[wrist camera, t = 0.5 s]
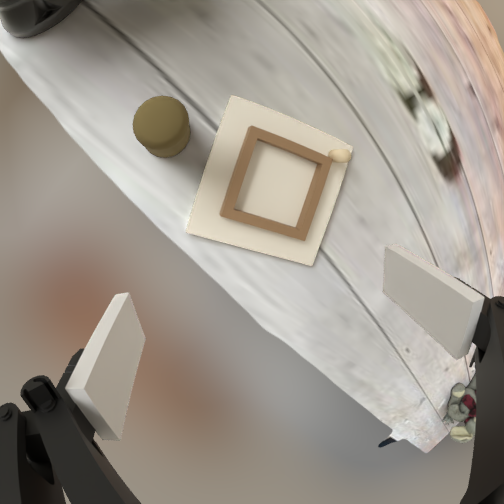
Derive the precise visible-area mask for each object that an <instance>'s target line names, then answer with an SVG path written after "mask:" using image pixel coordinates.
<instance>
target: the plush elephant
mask: <svg viewBox="0 0 504 504" xmlns="http://www.w3.org/2000/svg"><path fill="white" fill-rule="evenodd" d="M448 407H449V408H448V412H447V415H446V416H445V417H444V418H445V419H444V420H443V421H442V422H444V421H446V424H448V425H449V423H448V422H451V423H454V421H453V419H454V420H456V421H458V422H463V421H464V423H465V426H456V427H452V428H451V431H450V438H452V439H453V440H454V441H457V442H460V443H465V442H468V441H470V440H472V438H473V436H475V426H476V373H475V375H474V377H473V379H472V381H471V382H470V384H469V385H468V386H467V387H466V388H465V386H464V385H463V384H461V383H458V384H456V385H455V386H454V387H453V388H452V391H451V398H450V400H449V403H448ZM452 421H453V422H452Z"/></svg>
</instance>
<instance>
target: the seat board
mask: <svg viewBox="0 0 504 504" xmlns="http://www.w3.org/2000/svg"><path fill="white" fill-rule="evenodd" d="M352 149H353V146H351V145H349V144H347V143H345V142H343V141H341V140H339V139H337V138H335V137H333V136H331V135H329V134H327V133H325V132H323V131H320V130H318V129H316V128H314V127H312V126H310V125H308V124H305V123H303V122H301V121H299V120H296V119H294V118H292V117H289V116H287V115H284V114H282V113H280V112H277V111H275V110H272V109H270V108H267V107H265V106H262V105H259V104H257V103H254V102H251V101H249V100H246V99H243V98H240V97H237V96H234V95H231V96H230V99H229V101H228V104H227V107H226V109H225V112H224V115H223V117H222V120H221V123H220V126H219V129H218V131H217V134H216V137H215V140H214V143H213V146H212V149H211V151H210V154H209V157H208V160H207V163H206V166H205V169H204V173H203V176H202V179H201V182H200V185H199V188H198V191H197V195H196V198H195V201H194V205H193V208H192V211H191V215H190V218H189V221H188V225H187V228H186V233H189V234H193V235H196V236H200V237H204V238H208V239H212V240H215V241H219V242H223V243H227V244H230V245H234V246H238V247H242V248H245V249H249V250H253V251H257V252H261V253H264V254H268V255H272V256H276V257H279V258H283V259H287V260H291V261H294V262H298V263H302V264H306V265H309V266H312V265H313V262H314V260H315V257H316V254H317V252H318V249H319V246H320V244H321V241H322V238H323V236H324V233H325V230H326V227H327V224H328V222H329V219H330V216H331V213H332V210H333V207H334V205H335V202H336V199H337V196H338V193H339V190H340V187H341V184H342V181H343V178H344V175H345V172H346V168H347V165H348V162H349V161H350V159H351V153H352Z"/></svg>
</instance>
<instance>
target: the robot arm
mask: <svg viewBox="0 0 504 504" xmlns="http://www.w3.org/2000/svg"><path fill="white" fill-rule="evenodd" d="M80 2H81V0H0V19H1V22H2V25H3V27H4V29H5V30H6V31H7V32H9V33H10V34H12V35H13V36H15V37H19V38H25V37H30V36H34V35H37V34H39V33H42V32H44V31H46V30H47V29H49V28H51V27H52V26H54V25H56V24H57V23H58V22H60V21H61V20H62V19H64V18H65V17H66V16H67V15H68V14H69V13H70V12H72V11H73V10H74V8H75V7H76V6H77V5H78V4H79V3H80ZM383 293H384V294H385V295H386V296H388V297H389V298H390V299H391V300H392V301H393V302H394V303H396V304H397V305H398V306H399V307H400V308H401V309H402V310H403V311H404V312H406V313H407V314H408V315H409V316H410V317H411V318H412V319H413V320H414V321H415V322H417V323H418V324H419V325H420V326H421V327H422V328H423V329H424V330H425V331H426V332H427V333H428V334H429V335H431V336H432V337H433V338H434V339H435V340H436V341H437V342H438V343H439V344H440V345H441V346H442V347H443V348H444V349H445V350H446V351H447V352H448V353H449V354H450V355H451V356H452V357H453V358H454V359H456V360H458V359H460V358H461V357H463V356H465V355H467V354H468V352H469V349H470V347H471V344H472V342H473V343H474V344H475V345H476V349H475V352H474V355H473V357H472V360H471V363H470V366H469V367H472V365H473V363H474V362H475V369H476V426H475V440H474V450H473V459H472V467H471V473H470V479H469V485H468V489H467V491H466V493H465V495H464V497H463V498H462V500H461V502H460V504H504V297H501V296H496V297H493V298H492V299H490V298H488V297H486V296H485V295H483V294H482V293H480V292H479V291H477V290H476V289H474V288H471V286H469V285H468V284H465V282H463V281H462V280H460V279H458V278H456V277H453V276H451V275H449V274H448V273H446V272H444V271H443V270H441V269H439V268H438V267H436V266H434V265H433V264H431V263H429V262H428V261H426V260H424V259H422V258H421V257H419V256H417V255H415V254H414V253H412V252H410V251H408V250H407V249H405V248H403V247H401V246H399V245H398V244H392V245H387V246H385V258H384V279H383ZM145 339H146V338H145V336H144V333H143V330H142V328H141V325H140V322H139V319H138V317H137V314H136V311H135V308H134V305H133V302H132V300H131V296H130V293H129V292H128V293H122V294H116V295H115V296H114V298H113V300H112V301H111V303H110V305H109V306H108V308H107V310H106V311H105V313H104V315H103V317H102V318H101V320H100V322H99V324H98V325H97V327H96V329H95V331H94V333H93V335H92V336H91V338H90V340H89V342H88V344H87V346H86V348H85V349H80V350H79V351H78V352H77V353H76V354H75V355H73V357H72V358H71V360H70V362H69V364H68V366H67V368H66V370H65V373H63V376H62V378H61V379H60V381H59V383H58V385H57V387H56V388H55V387H54V385H53V383H52V382H51V380H50V379H49V378H48V377H47V376H44V375H42V376H36V377H33V378H32V379H30V380H29V381H27V382H26V383H25V384H24V385H23V387H22V389H21V397H22V398H23V400H24V401H25V403H26V404H27V405H28V407H29V408H30V409H31V410H29V411H25V412H21V411H20V410H19V408H18V407H17V406H16V405H15V404H13V403H6V404H4V405H2V406H0V504H66V502H65V498H64V493H63V489H64V491H65V493H66V495H67V497H68V499H69V501H70V502H71V504H141V503H140V501H139V500H138V499H137V498H136V497H135V496H134V494H133V493H132V492H131V491H130V489H129V488H128V487H127V486H126V484H125V483H124V482H123V480H122V479H121V478H120V476H119V475H118V474H117V472H116V471H115V469H114V468H113V467H112V465H111V464H110V463H109V461H108V459H107V458H106V457H105V455H104V454H103V452H102V450H101V449H100V447H99V446H98V444H97V443H96V442H95V441H94V439H93V437H94V433H95V431H96V432H97V434H98V435H99V436H100V437H101V438H102V440H116V441H120V440H121V435H122V430H123V426H124V421H125V417H126V412H127V408H128V404H129V400H130V395H131V391H132V387H133V383H134V379H135V375H136V372H137V368H138V364H139V360H140V357H141V353H142V350H143V346H144V343H145ZM62 487H63V489H62Z"/></svg>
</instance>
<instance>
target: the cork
mask: <svg viewBox="0 0 504 504" xmlns="http://www.w3.org/2000/svg"><path fill="white" fill-rule="evenodd" d="M133 131H134V134H135V136H136V138H137V140H138V141H139V142H140V143H141V144H142V145H143V146H145V147H146V149H147V150H148V151H149V152H150V153H151V154H153V155H155V156H157V157H163V158H167V157H172V156H174V155H176V154H178V153H180V152H181V151H182V150H183V149H184V148H185V147H186V145H187V143H188V142H189V138H190V126H189V118H188V113H187V111H186V109H185V107H184V105H183V104H182V103H181V102H180V101H178V100H177V99H174V98H172V97H168V96H158V97H153V98H151V99H149V100H147V101H145V102H144V103H143V104H142V105H141V106H140V107H139V108H138V110H137V112H136V114H135V115H134V120H133Z"/></svg>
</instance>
